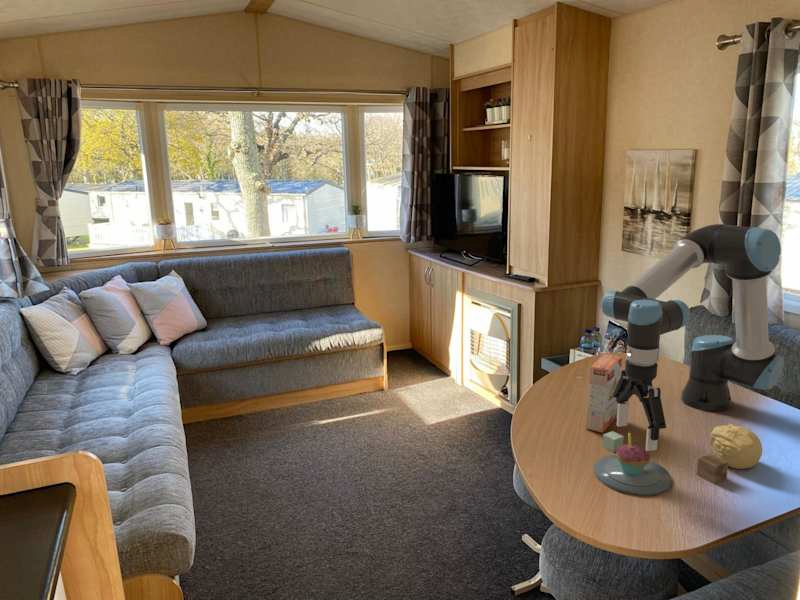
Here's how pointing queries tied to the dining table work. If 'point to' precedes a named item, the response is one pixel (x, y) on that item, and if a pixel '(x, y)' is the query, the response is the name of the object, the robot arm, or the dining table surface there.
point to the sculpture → (736, 446)
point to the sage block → (612, 441)
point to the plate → (632, 477)
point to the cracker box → (603, 393)
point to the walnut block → (712, 468)
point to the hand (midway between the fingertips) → (635, 437)
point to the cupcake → (632, 457)
